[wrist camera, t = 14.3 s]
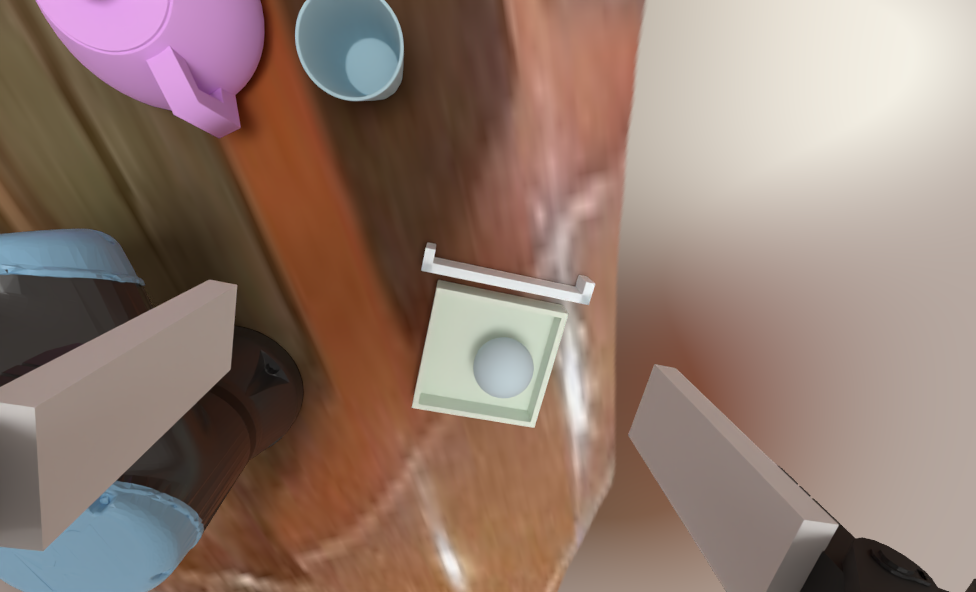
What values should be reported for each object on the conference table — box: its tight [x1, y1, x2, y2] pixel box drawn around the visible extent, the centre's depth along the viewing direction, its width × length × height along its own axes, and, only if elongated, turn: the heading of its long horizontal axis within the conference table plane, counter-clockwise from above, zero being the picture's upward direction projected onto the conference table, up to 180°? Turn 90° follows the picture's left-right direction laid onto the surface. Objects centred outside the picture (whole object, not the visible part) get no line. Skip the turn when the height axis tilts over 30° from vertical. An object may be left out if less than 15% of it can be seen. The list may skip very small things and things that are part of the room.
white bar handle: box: [421, 242, 595, 305], centre depth 48 cm, size 18×2×3 cm, turn 77°
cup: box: [295, 0, 404, 101], centre depth 37 cm, size 8×8×10 cm
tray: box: [412, 280, 568, 428], centre depth 50 cm, size 14×14×3 cm
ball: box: [473, 337, 534, 398], centre depth 48 cm, size 6×6×6 cm
